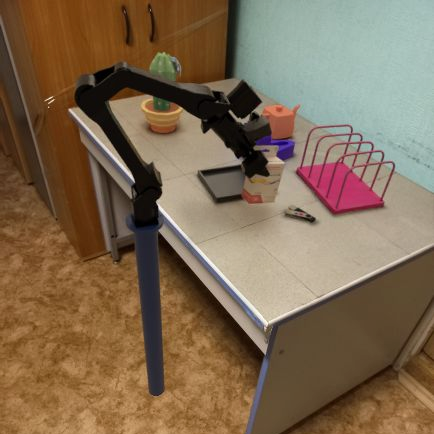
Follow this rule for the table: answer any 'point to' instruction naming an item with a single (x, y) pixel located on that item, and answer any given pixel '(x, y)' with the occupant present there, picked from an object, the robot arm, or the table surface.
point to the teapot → (280, 120)
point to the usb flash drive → (299, 214)
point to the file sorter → (343, 178)
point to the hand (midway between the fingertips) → (265, 170)
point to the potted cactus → (157, 108)
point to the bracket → (284, 145)
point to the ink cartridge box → (264, 179)
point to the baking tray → (224, 182)
